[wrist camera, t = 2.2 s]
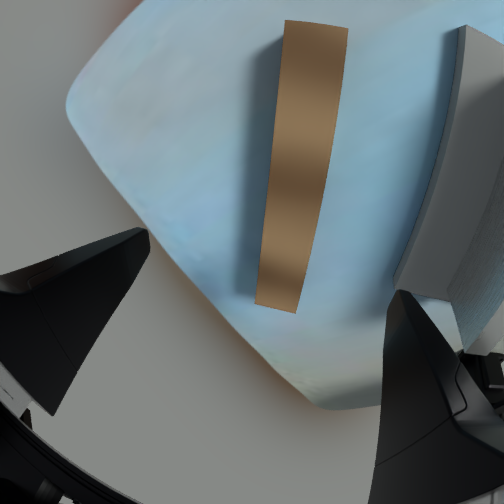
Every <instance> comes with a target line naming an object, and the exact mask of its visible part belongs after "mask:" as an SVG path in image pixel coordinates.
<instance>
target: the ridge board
mask: <svg viewBox="0 0 504 504" xmlns="http://www.w3.org/2000/svg"><path fill="white" fill-rule="evenodd" d="M503 153H504V45H503V44H502V43H500V42H498V41H496V40H495V39H493V38H491V37H489V36H488V35H486V34H484V33H482V32H480V31H478V30H476V29H474V28H472V27H470V26H468V25H464V26H461V27H459V33H458V45H457V55H456V64H455V72H454V79H453V85H452V91H451V97H450V102H449V107H448V112H447V117H446V122H445V126H444V131H443V135H442V139H441V143H440V147H439V151H438V155H437V158H436V162H435V165H434V169H433V172H432V176H431V179H430V182H429V185H428V188H427V192H426V195H425V198H424V201H423V204H422V206H421V209H420V212H419V215H418V218H417V220H416V223H415V226H414V228H413V231H412V234H411V236H410V239H409V241H408V244H407V246H406V249H405V251H404V254H403V256H402V258H401V261H400V263H399V265H398V268H397V270H396V272H395V274H394V277H393V284H394V289H396V290H398V289H402V290H407V291H409V292H410V293H413V294H418V295H422V296H426V297H431V298H435V299H440V300H444V301H448V302H450V299H449V296H448V293H447V290H446V289H447V287H448V286H449V284H450V282H451V280H452V278H453V277H454V275H455V273H456V271H457V269H458V267H459V265H460V263H461V261H462V259H463V257H464V255H465V253H466V251H467V249H468V247H469V245H470V243H471V240H472V238H473V236H474V234H475V232H476V229H477V227H478V225H479V222H480V220H481V217H482V215H483V213H484V210H485V207H486V205H487V202H488V200H489V197H490V194H491V191H492V188H493V186H494V183H495V180H496V177H497V173H498V170H499V167H500V164H501V160H502V157H503Z"/></svg>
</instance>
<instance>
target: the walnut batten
mask: <svg viewBox="0 0 504 504" xmlns="http://www.w3.org/2000/svg"><path fill="white" fill-rule="evenodd" d="M347 37H348V28H343V27H338V26H332V25H325V24H318V23H311V22H302V21H292V20H285V26H284V36H283V47H282V57H281V67H280V77H279V87H278V97H277V107H276V116H275V126H274V135H273V145H272V154H271V163H270V173H269V182H268V191H267V200H266V209H265V218H264V227H263V236H262V245H261V253H260V262H259V271H258V279H257V288H256V296H255V304H257V305H261V306H266V307H270V308H274V309H278V310H282V311H286V312H291V313H295V314H296V310H297V306H298V302H299V299H300V295H301V291H302V287H303V283H304V279H305V275H306V270H307V266H308V262H309V258H310V254H311V249H312V245H313V240H314V236H315V231H316V227H317V222H318V218H319V213H320V208H321V203H322V198H323V193H324V188H325V183H326V178H327V173H328V167H329V162H330V156H331V151H332V145H333V139H334V133H335V127H336V121H337V114H338V108H339V101H340V94H341V87H342V80H343V72H344V64H345V55H346V47H347Z"/></svg>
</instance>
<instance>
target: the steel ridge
mask: <svg viewBox="0 0 504 504" xmlns="http://www.w3.org/2000/svg"><path fill="white" fill-rule="evenodd" d="M446 290H447V293H448V296H449V299H450V302H451V305H452V309H453V312H454V315H455V319H456V322H457V326H458V329H459V333H460V337H461V341H462V345H463V349H464V353H468V354H476V355H484V356H487V355H488V354H489V353H490V351H491V350H492V349H493V348H494V347H495V346H496V344H497V343H498V342H499V341H500V339H501V338H502V337H503V336H504V153H503V157H502V160H501V164H500V167H499V170H498V173H497V177H496V180H495V183H494V186H493V188H492V191H491V194H490V197H489V200H488V202H487V205H486V207H485V210H484V213H483V215H482V217H481V220H480V222H479V225H478V227H477V229H476V232H475V234H474V236H473V238H472V240H471V243H470V245H469V247H468V249H467V251H466V253H465V255H464V257H463V259H462V261H461V263H460V265H459V267H458V269H457V271H456V273H455V275H454V277H453V278H452V280H451V282H450V284H449V286H448V287H447V289H446Z"/></svg>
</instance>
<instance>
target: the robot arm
mask: <svg viewBox="0 0 504 504" xmlns="http://www.w3.org/2000/svg"><path fill="white" fill-rule="evenodd" d="M149 253H150V241H149V233H148V230H147V229H144V228H140V227H136V228H133V229H130V230H127V231H124V232H121V233H118V234H115V235H112V236H109V237H107V238H104V239H101V240H98V241H96V242H92V243H90V244H87V245H84V246H81V247H79V248H76V249H73V250H71V251H68V252H65V253H63V254H60V255H59V256H55V257H52V258H50V259H47V260H44V261H42V262H39V263H36V264H33V265H30V266H28V267H25V268H21V269H18V270H16V271H13V272H10V273H7V274H3V275H0V504H60V503H59V501H60V500H61V497H62V496H65V497H67V498H69V499H71V500H73V503H74V504H143V503H141V502H139V501H137V500H135V499H133V498H131V497H129V496H127V495H125V494H123V493H121V492H120V491H118V490H116V489H114V488H112V487H111V486H109V485H107V484H105V483H104V482H102V481H101V480H99V479H97V478H96V477H94V476H93V475H91V474H89V473H88V472H86V471H85V470H83V469H82V468H80V467H79V466H77V465H76V464H74V463H73V462H71V461H70V460H69V459H68V458H66V457H65V456H63V455H62V454H61V453H60V452H58V451H57V450H55V449H54V448H53V447H52V446H50V445H49V444H48V443H47V442H45V441H44V440H43V439H42V438H41V437H40V436H38V435H37V434H36V433H35V432H34V431H33V430H32V423H31V414H30V410H29V409H28V408H27V407H28V405H29V404H30V402H31V401H34V402H35V403H36V404H37V405H38V406H40V407H41V408H42V409H43V410H44V411H46V412H47V413H48V414H50V415H51V416H54V415H55V413H56V411H57V409H58V407H59V405H60V403H61V401H62V400H63V398H64V396H65V394H66V392H67V390H68V388H69V387H70V385H71V383H72V381H73V379H74V378H75V376H76V374H77V371H78V370H79V369H80V366H81V365H82V363H83V362H84V360H85V358H86V356H87V355H88V353H89V351H90V350H91V348H92V346H93V345H94V343H95V341H96V339H97V338H98V337H99V335H100V333H101V332H102V330H103V329H104V327H105V325H106V324H107V322H108V321H109V319H110V317H111V316H112V314H113V313H114V311H115V310H116V308H117V307H118V305H119V304H120V302H121V300H122V299H123V298H124V296H125V294H126V293H127V292H128V290H129V289H130V287H131V285H132V284H133V282H134V280H135V279H136V277H137V275H138V273H139V271H140V269H141V268H142V266H143V264H144V262H145V260H146V259H147V257H148V255H149ZM503 361H504V354H499V353H491V352H490V353H489V354H488V355H487V356H484V355H476V354H468V353H464V351H462V352H461V354H460V355H459V356H458V357H457V355H456V354H455V352H454V351H453V349H452V348H451V347H450V345H449V344H448V342H447V341H446V339H445V338H444V337H443V335H442V334H441V332H440V331H439V330H438V328H437V327H436V326H435V324H434V323H433V322H432V320H431V319H430V318H429V316H428V315H427V314H426V312H425V311H424V310H423V308H422V307H421V306H420V304H419V303H418V302H417V301H416V299H415V298H414V297H413V295H412V294H411V293H410V292H409V291H407V290H402V289H398V290H397V291H396V293H395V295H394V297H393V299H392V300H391V302H390V304H389V306H388V309H387V316H386V328H385V338H384V347H383V377H382V399H381V414H380V426H379V436H378V445H377V453H376V460H375V468H374V473H373V479H372V485H371V490H370V496H369V500H368V504H504V376H503V372H502V368H501V363H502V362H503Z"/></svg>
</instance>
